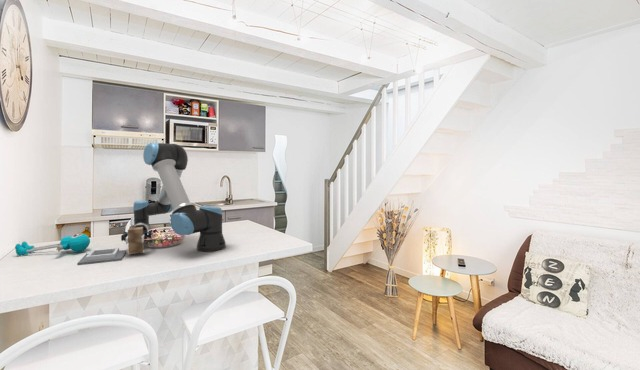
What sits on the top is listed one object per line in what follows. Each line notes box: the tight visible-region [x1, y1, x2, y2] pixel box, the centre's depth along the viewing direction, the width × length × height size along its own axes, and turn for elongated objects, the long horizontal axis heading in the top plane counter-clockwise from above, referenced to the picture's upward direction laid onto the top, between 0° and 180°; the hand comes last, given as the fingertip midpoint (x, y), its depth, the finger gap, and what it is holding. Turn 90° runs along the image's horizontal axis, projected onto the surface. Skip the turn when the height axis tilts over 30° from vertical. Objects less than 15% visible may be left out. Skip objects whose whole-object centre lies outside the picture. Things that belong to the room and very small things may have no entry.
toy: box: [14, 232, 91, 256], centre depth 156 cm, size 22×10×30 cm
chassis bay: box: [77, 247, 127, 266], centre depth 149 cm, size 17×15×3 cm
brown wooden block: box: [127, 226, 145, 255], centre depth 155 cm, size 6×6×12 cm
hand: (134, 240), depth 150 cm, fingers closed on brown wooden block, 6 cm apart
